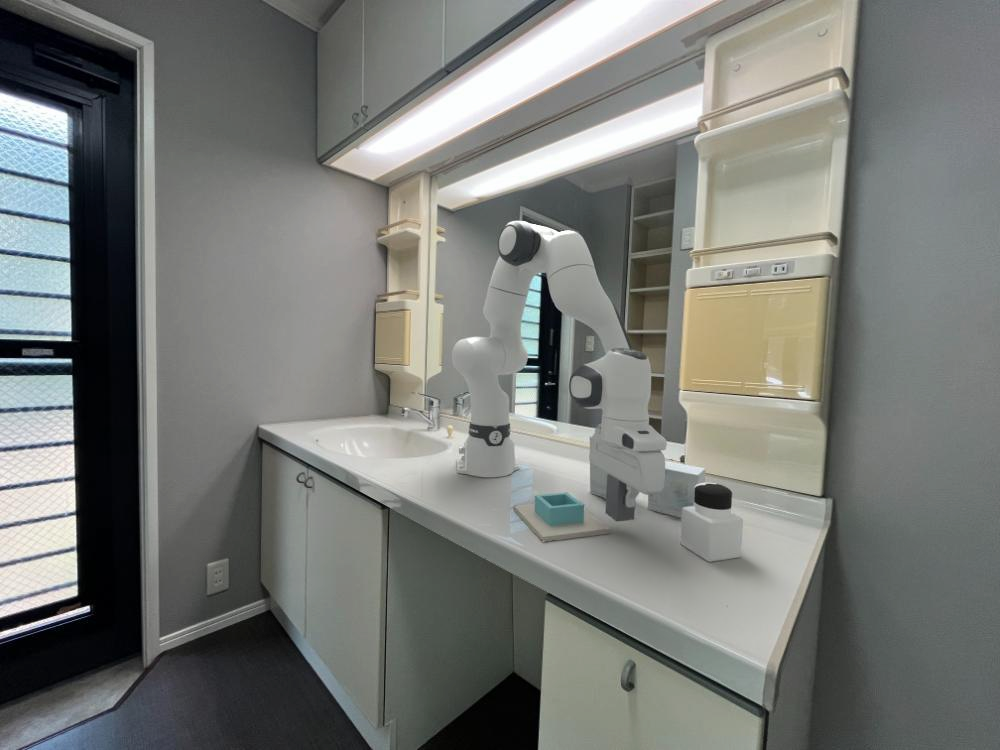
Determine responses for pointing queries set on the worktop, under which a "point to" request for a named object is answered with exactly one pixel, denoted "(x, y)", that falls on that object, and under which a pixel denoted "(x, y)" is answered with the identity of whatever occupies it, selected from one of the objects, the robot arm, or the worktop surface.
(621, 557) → the worktop surface
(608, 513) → the block
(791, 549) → the worktop surface
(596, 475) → the skincare box
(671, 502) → the skincare box
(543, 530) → the plate
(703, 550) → the medicine bottle
